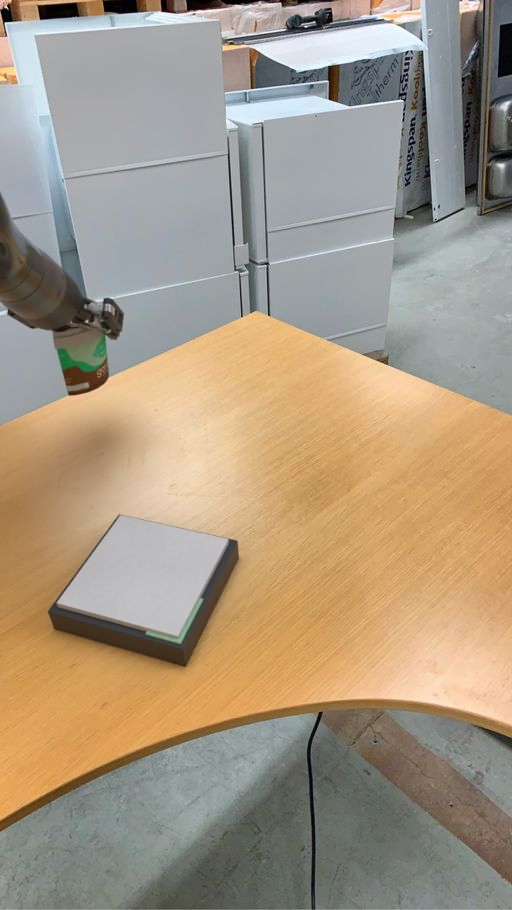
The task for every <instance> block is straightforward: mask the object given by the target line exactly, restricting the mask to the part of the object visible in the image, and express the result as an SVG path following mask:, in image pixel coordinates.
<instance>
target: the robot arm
mask: <svg viewBox="0 0 512 910" xmlns="http://www.w3.org/2000/svg"><path fill="white" fill-rule="evenodd" d="M87 298H88V297H85V296H83V295H82V293H81V289H80V288H79V285H78V284H77V282H76V280H75V279H74V278H73V277H72V276H71V275H70V274H69V273H68V271H66V270H65V269H64V268H63V267H62V266H61V265H59V264H58V263H57V261H55V260H54V259H53V258H52V257H51V256H50V255H49V254H48V253H47V252H46V251H44V250H43V249H42V248H39V247H37V246H36V245H35V244H34V243H33V242H32V241H31V240H30V239H29V238H28V237H27V236H26V235H24V233H22V231H21V230H20V229H19V227H17V225H16V223H15V222H14V219H13V218H12V215H11V213H10V210H9V208H8V205H7V203H6V200H5V198H4V195H3V194H2V191H1V190H0V304H1V305H3V306H4V307H5V308H7V312H6V315H7V316H9V317H11V318H12V319H14V320H16V322H18V323H21V324H22V325H24V326H25V327H27V328H29V329H32V330H34V329H38V330H39V329H40V330H44V331H46V332H49V331H51V332H52V333H54V332H58V330H59V328H60V327H62V326H64V325H69V326H77V327H80V328H83V329H85V330H88V331H93V330H99V331H102V332H103V333H104V334H105V337H107V338H108V339H110V340H112V341H117V340H118V338H119V337H120V334H121V333H122V332H123V327H124V326H123V325H124V317H125V313H124V311H123V310H122V309H121V308H120V306H119V305H118V304H117V302H115V300H114V299H113V298H111V297H104V298H103V299H102V303H99V304H96V303H94V302H92V301H91V300H92V299H91V300H89V299H90V298H88V299H87ZM99 316H101V321H102V325H101V324H99ZM88 318H89V319H88ZM87 319H88V323H86V322H85V321H86V320H87Z"/></svg>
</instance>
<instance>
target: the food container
mask: <svg viewBox="0 0 512 910" xmlns="http://www.w3.org/2000/svg"><path fill="white" fill-rule="evenodd" d="M86 298H87V299H89V300H91V301H92V302H94V303H96V304H100V303H99V302H98V301H96V300H93V299H91V298H88V297H86ZM88 319H89V318H88ZM88 319H87V320H86V321H85V322H86V323H88ZM99 324H101V325H102V321H101V316H99ZM52 337H53V338H52V341H53V346H54V349H55V350H56V353H57V357H58V360H59V365H60V368H61V372H62V376H63V380H64V383H65V386H66V392H67V394H68V397H73V396H80V395H83V394H84V395H85V394H88V393H91V392H93V391H95V390H98V389H100V387H102V386H103V385H105V384H106V383H107V382H108V380H109V378H110V372H109V361H108V352H107V351H108V350H107V339H106V338H107V337H106V335H105V334H104V333H103V332H102V331H99V330H93V331H88V330H85V329H83V328H80V327H77V326H69V325H64V326H62V327H60V328H59V330H58V332H52Z"/></svg>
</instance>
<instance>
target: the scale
mask: <svg viewBox="0 0 512 910" xmlns="http://www.w3.org/2000/svg"><path fill="white" fill-rule="evenodd" d="M239 559H240V553H239V542H238V540H237V539H233V538H228V537H224V536H220V535H219V536H218V535H214V534H210V533H206V532H201V531H196V530H192V529H187V528H184V527H183V528H182V527H178V526H174V525H170V524H164V523H160V522H156V521H152V520H147V519H143V518H138V517H133V516H130V515H124V514H117V516H116V517H115V519H114V520H113V521H112V523H111V524H110V526H109V527H108V528H107V530H106V531H105V532H104V534H103V535H102V537H101V538H100V539H99V541H98V542H97V543H96V545H95V546H94V548H93V549H92V550H91V551H90V553H89V554H88V556H87V557H86V558H85V559H84V560H83V563H82V564H81V565H80V566H79V568H78V569H77V571H76V572H75V574H74V575H73V576H72V578H71V579H70V580H69V582H68V583H67V584H66V586H65V587H64V588H63V590H62V591H61V593H60V594H59V595H58V597H57V598H56V599H55V601H54V602H53V604H52V605H51V606H50V608H49V609H48V611H47V614H48V616H49V618H50V622H51V625H52V627H53V629H54V630H57V631H61V632H64V633H68V634H71V635H75V636H77V637H81V638H86V639H88V640H92V641H95V642H99V643H102V644H106V645H110V646H113V647H117V648H120V649H124V650H127V651H130V652H133V653H138V654H142V655H145V656H147V657H151V658H154V659H159V660H161V661H165V662H168V663H173V664H176V665H179V666H183V667H187V665H188V663H189V661H190V659H191V657H192V654H193V652H194V650H195V648H196V647H197V645H198V643H199V641H200V638H201V637H202V634H203V632H204V630H205V628H206V626H207V624H208V623H209V621H210V618H211V616H212V614H213V611H214V610H215V608H216V606H217V604H218V601H219V599H220V597H221V596H222V593H223V591H224V589H225V588H226V586H227V584H228V581H229V579H230V577H231V575H232V574H233V571H234V569H235V567H236V565H237V563H238V560H239Z"/></svg>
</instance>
